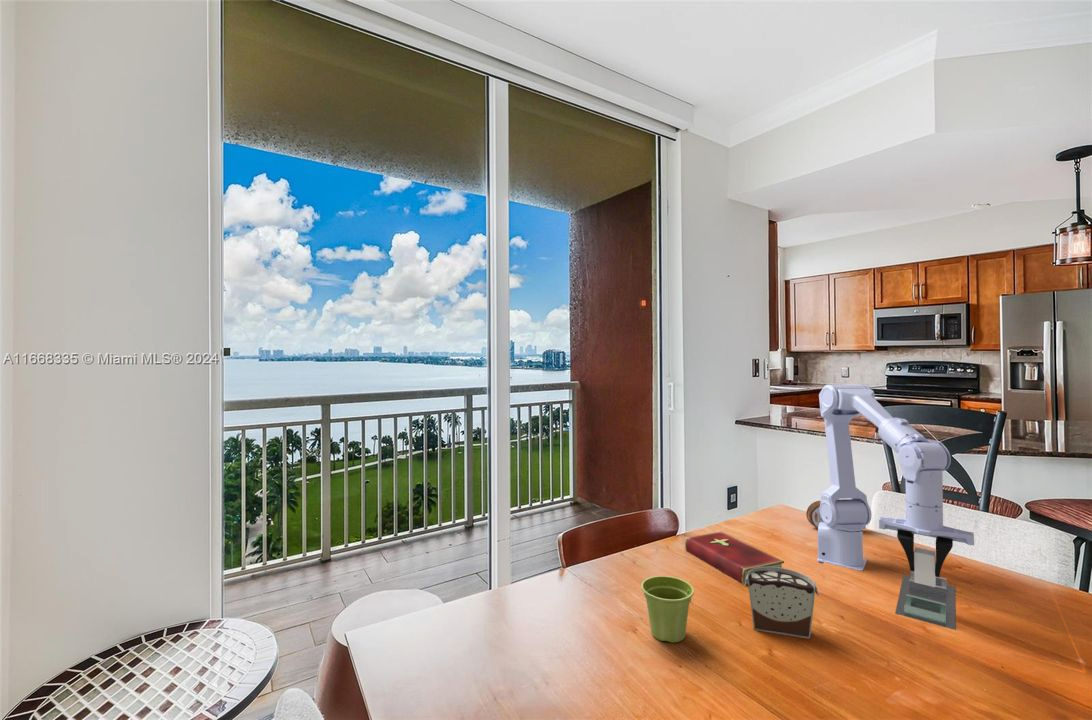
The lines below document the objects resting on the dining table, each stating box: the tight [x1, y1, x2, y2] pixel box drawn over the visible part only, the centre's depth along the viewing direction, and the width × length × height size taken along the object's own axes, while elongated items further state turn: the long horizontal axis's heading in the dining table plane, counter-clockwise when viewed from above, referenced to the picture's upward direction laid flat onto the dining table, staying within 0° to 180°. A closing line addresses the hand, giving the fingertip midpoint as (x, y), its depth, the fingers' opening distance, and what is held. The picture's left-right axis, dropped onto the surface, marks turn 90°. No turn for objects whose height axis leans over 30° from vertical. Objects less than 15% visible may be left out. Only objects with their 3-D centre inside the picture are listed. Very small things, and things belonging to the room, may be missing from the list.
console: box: [894, 571, 957, 631], centre depth 99 cm, size 9×22×2 cm, turn 140°
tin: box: [805, 500, 825, 530], centre depth 140 cm, size 15×3×8 cm, turn 82°
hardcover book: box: [684, 530, 785, 586], centre depth 118 cm, size 12×21×4 cm, turn 21°
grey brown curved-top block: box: [744, 567, 820, 639], centre depth 90 cm, size 12×6×10 cm, turn 71°
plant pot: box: [640, 575, 695, 644], centre depth 88 cm, size 9×9×9 cm
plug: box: [914, 546, 936, 587], centre depth 94 cm, size 3×4×6 cm
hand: (924, 572), depth 93 cm, fingers closed on plug, 3 cm apart
